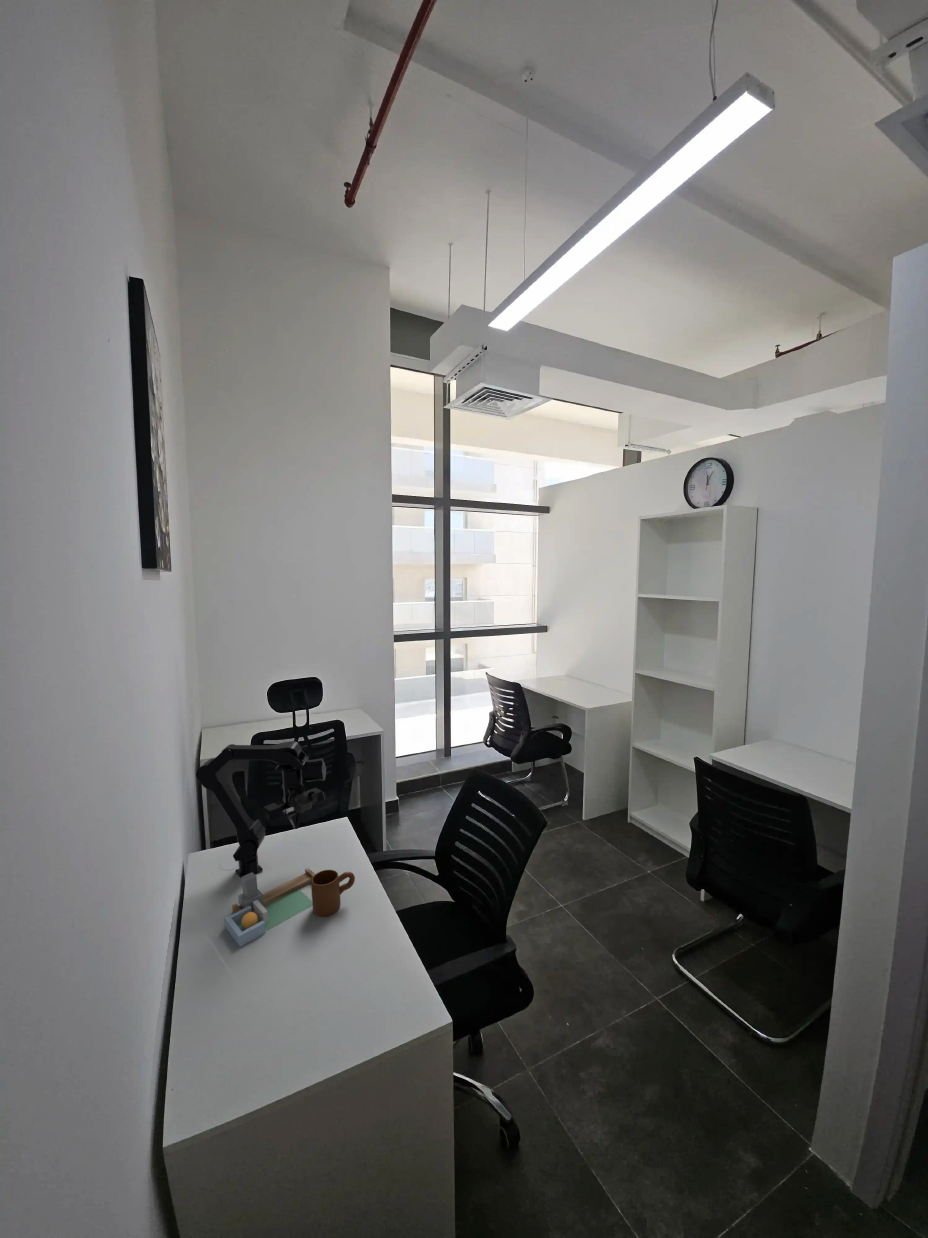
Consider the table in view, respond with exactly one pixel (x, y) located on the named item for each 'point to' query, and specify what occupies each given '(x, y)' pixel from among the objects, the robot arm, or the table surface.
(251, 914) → the ball
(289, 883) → the rail
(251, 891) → the kicker
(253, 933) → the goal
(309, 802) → the robot arm
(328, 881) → the mug
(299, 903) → the pitch mat
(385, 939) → the table surface
